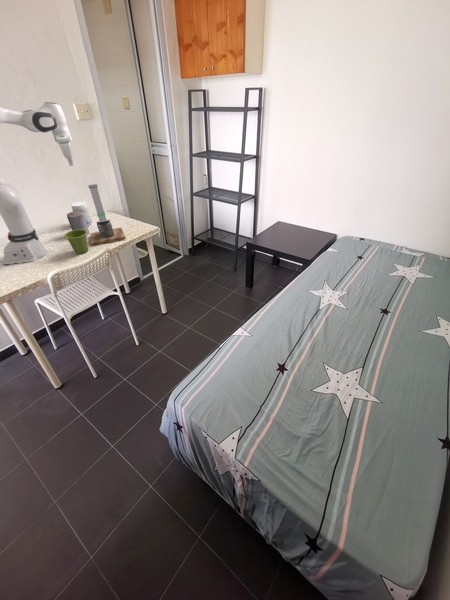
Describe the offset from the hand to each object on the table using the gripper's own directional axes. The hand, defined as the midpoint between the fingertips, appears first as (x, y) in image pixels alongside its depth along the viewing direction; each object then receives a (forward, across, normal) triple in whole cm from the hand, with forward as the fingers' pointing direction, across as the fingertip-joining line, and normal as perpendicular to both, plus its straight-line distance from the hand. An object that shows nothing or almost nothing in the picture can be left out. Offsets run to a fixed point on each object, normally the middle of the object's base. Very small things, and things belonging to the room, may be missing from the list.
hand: (71, 164), depth 167 cm
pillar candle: (+41, +3, -7) cm, 42 cm away
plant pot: (+41, +31, -8) cm, 52 cm away
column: (+30, +18, +8) cm, 36 cm away
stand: (+41, +18, +8) cm, 46 cm away
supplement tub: (+41, -14, -4) cm, 44 cm away
